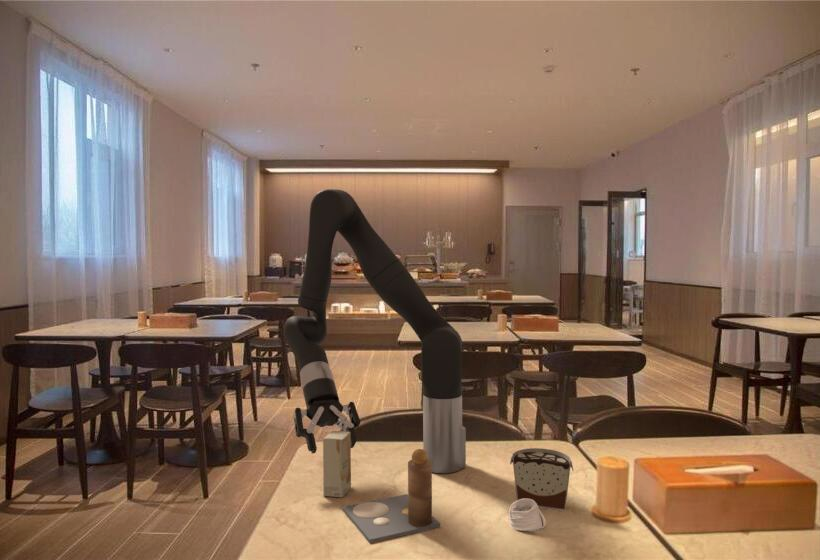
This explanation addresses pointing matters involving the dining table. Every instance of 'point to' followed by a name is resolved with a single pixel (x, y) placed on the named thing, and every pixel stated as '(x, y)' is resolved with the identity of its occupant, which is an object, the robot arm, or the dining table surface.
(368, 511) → the card
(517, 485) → the food container
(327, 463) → the skincare box
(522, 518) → the white crumpled cloth
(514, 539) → the dining table surface
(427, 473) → the walnut tube
